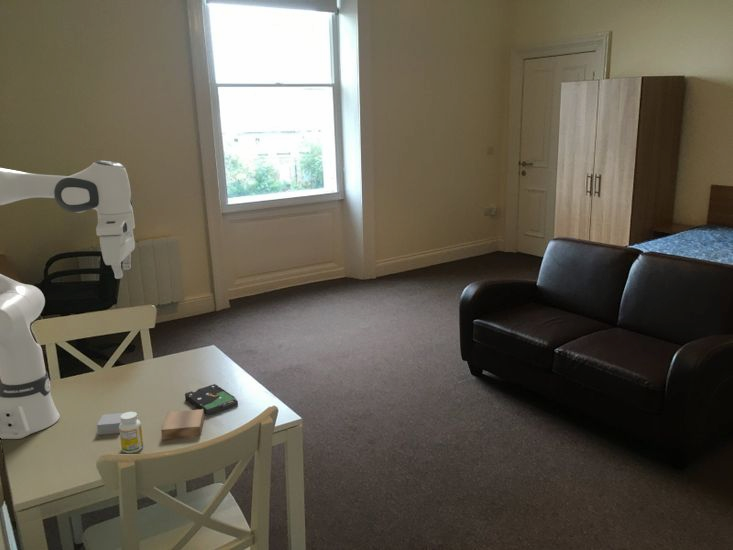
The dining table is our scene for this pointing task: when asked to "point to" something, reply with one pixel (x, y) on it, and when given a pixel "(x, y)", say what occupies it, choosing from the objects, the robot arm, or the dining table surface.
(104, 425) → the slate plinth
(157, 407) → the dining table surface
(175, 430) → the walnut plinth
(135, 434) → the supplement bottle
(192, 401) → the disk drive
